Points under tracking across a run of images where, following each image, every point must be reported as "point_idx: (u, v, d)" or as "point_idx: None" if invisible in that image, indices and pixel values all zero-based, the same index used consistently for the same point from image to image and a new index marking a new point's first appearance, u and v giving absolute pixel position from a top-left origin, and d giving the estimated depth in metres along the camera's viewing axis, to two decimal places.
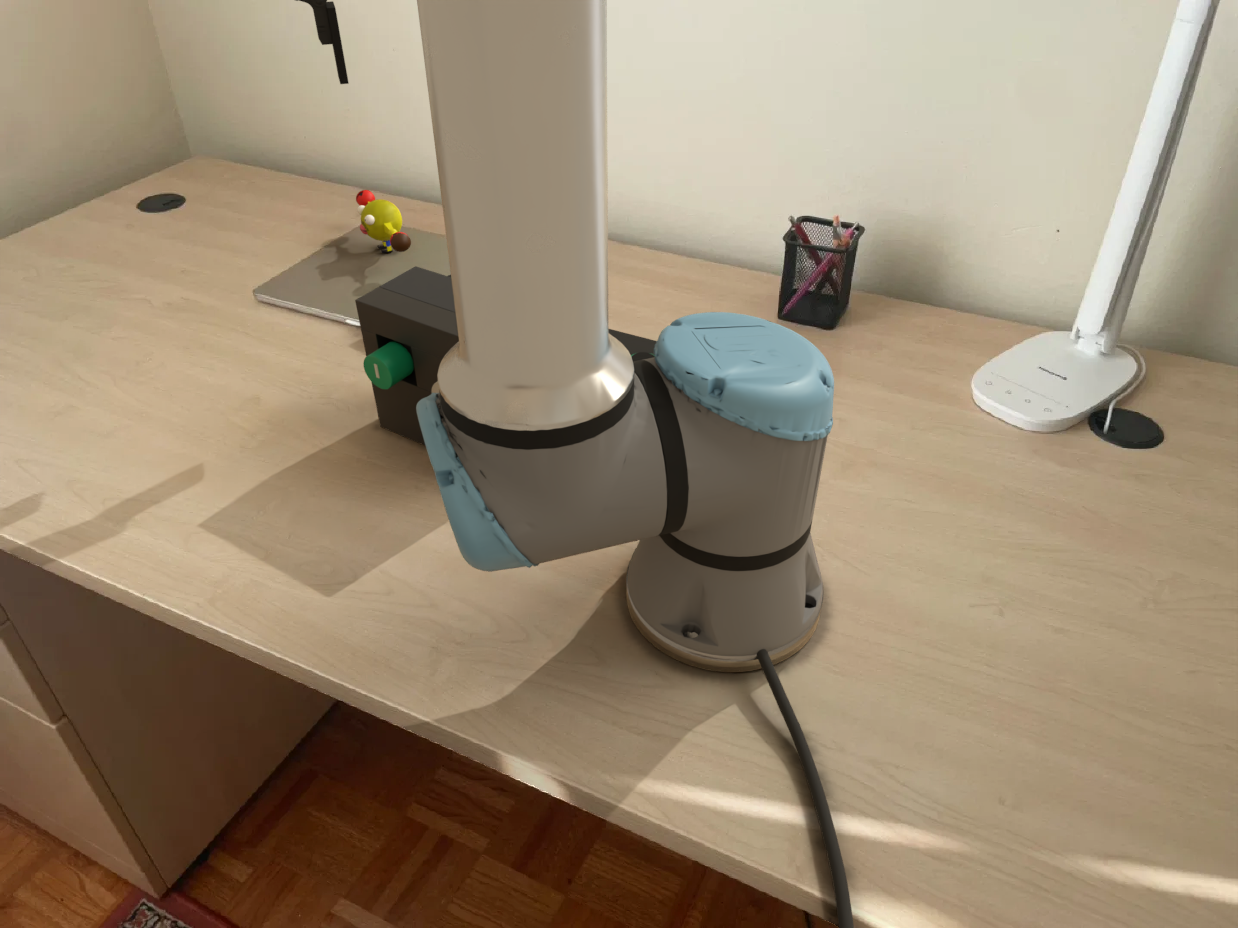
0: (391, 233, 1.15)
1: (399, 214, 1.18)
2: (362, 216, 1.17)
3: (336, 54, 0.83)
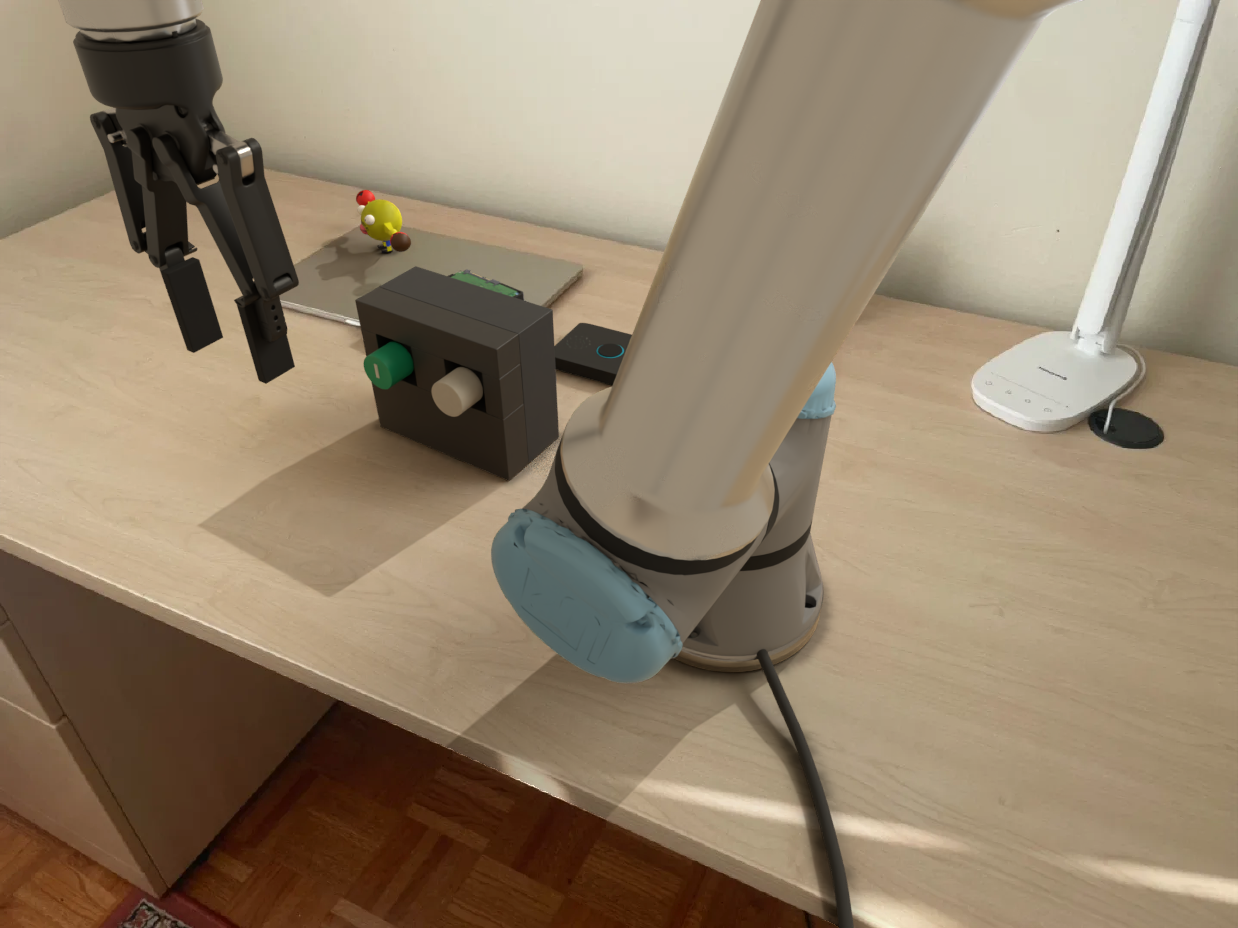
0: (391, 233, 1.15)
1: (399, 214, 1.18)
2: (362, 216, 1.17)
3: (177, 320, 0.67)
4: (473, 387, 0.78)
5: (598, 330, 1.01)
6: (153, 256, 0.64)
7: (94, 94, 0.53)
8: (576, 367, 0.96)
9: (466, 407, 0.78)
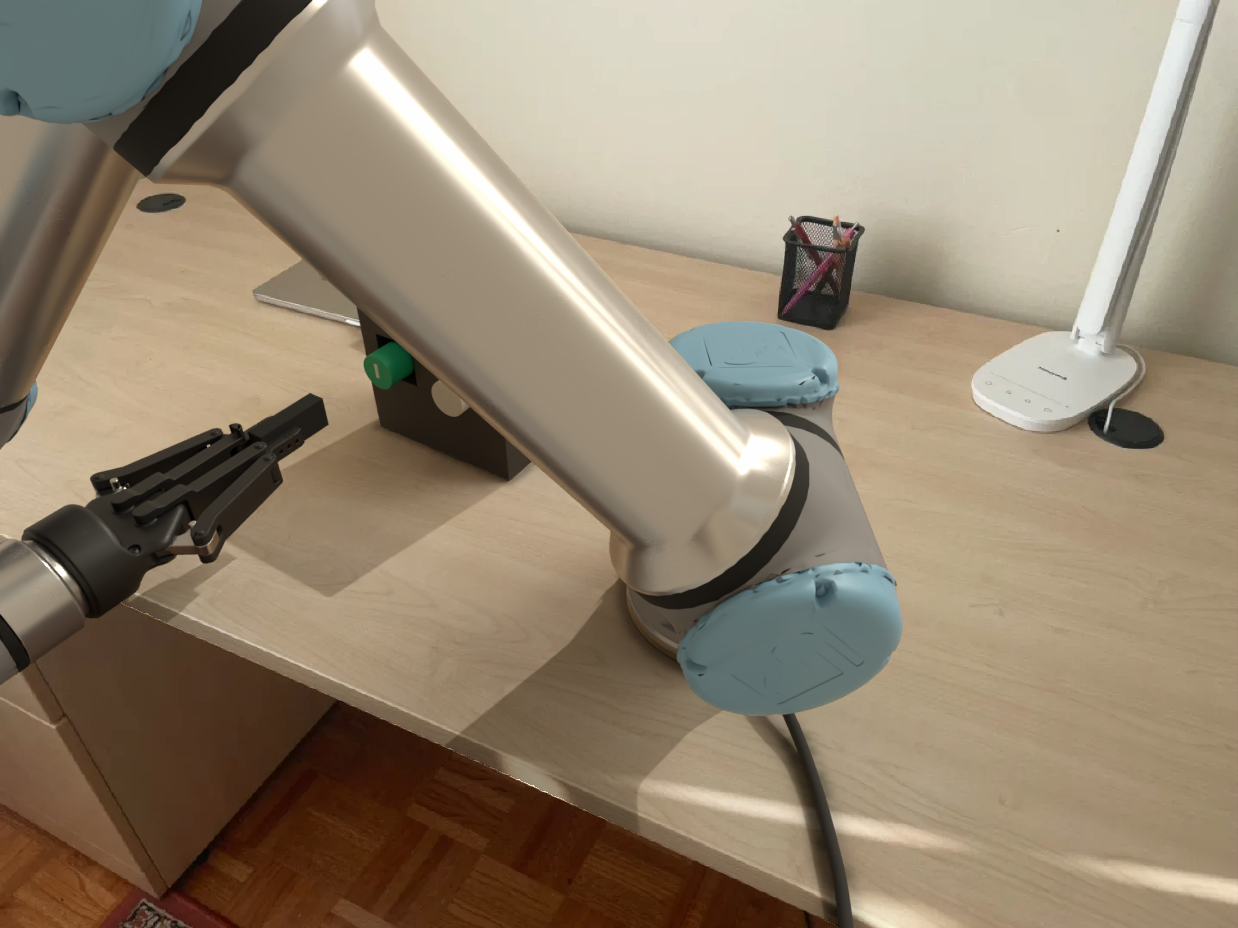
0: None
1: None
2: None
3: (297, 412, 0.73)
4: None
5: None
6: (254, 447, 0.70)
7: (85, 515, 0.60)
8: None
9: (466, 407, 0.78)
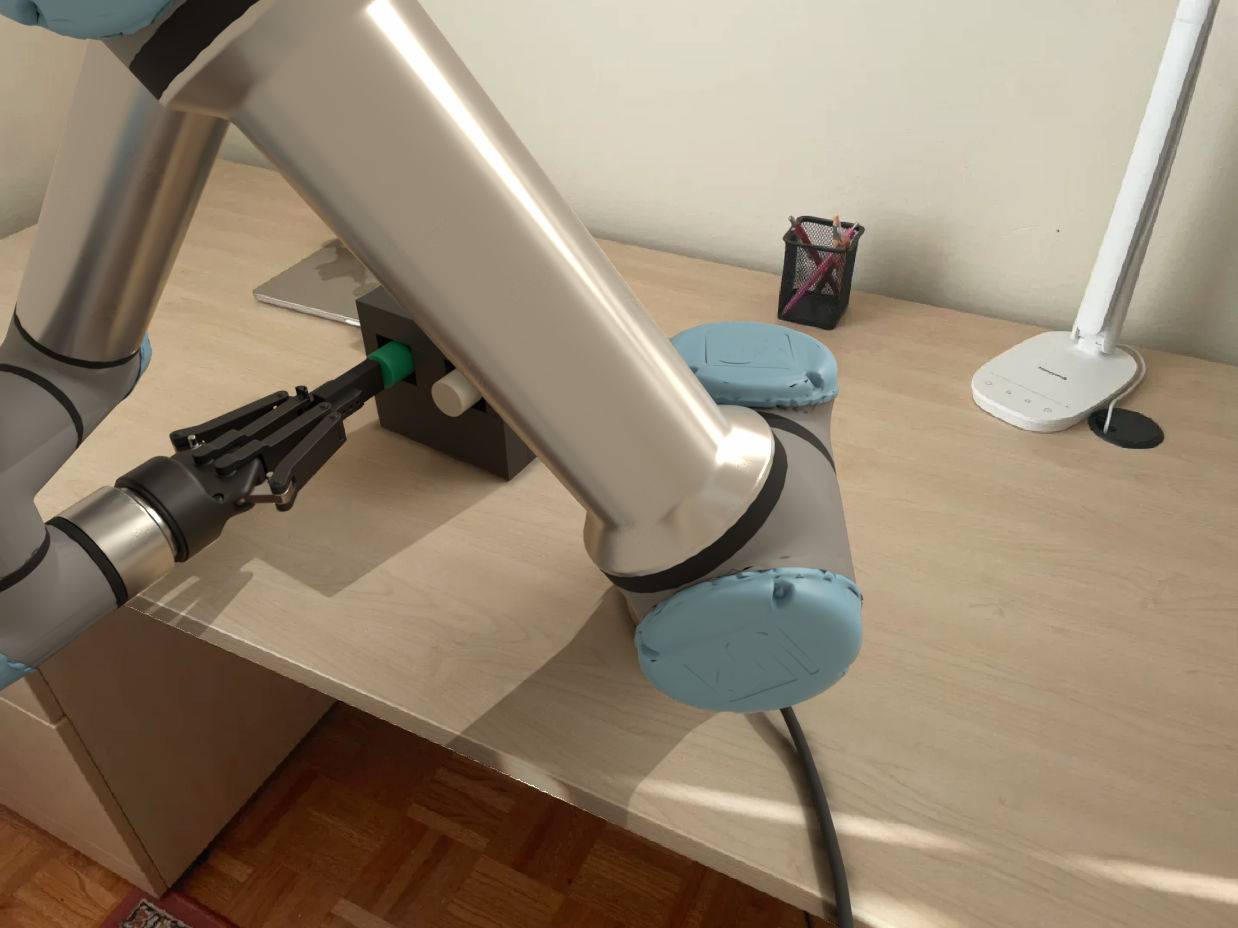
0: None
1: None
2: None
3: (357, 376, 0.78)
4: (473, 387, 0.78)
5: None
6: (320, 407, 0.75)
7: (173, 465, 0.65)
8: None
9: (466, 407, 0.78)
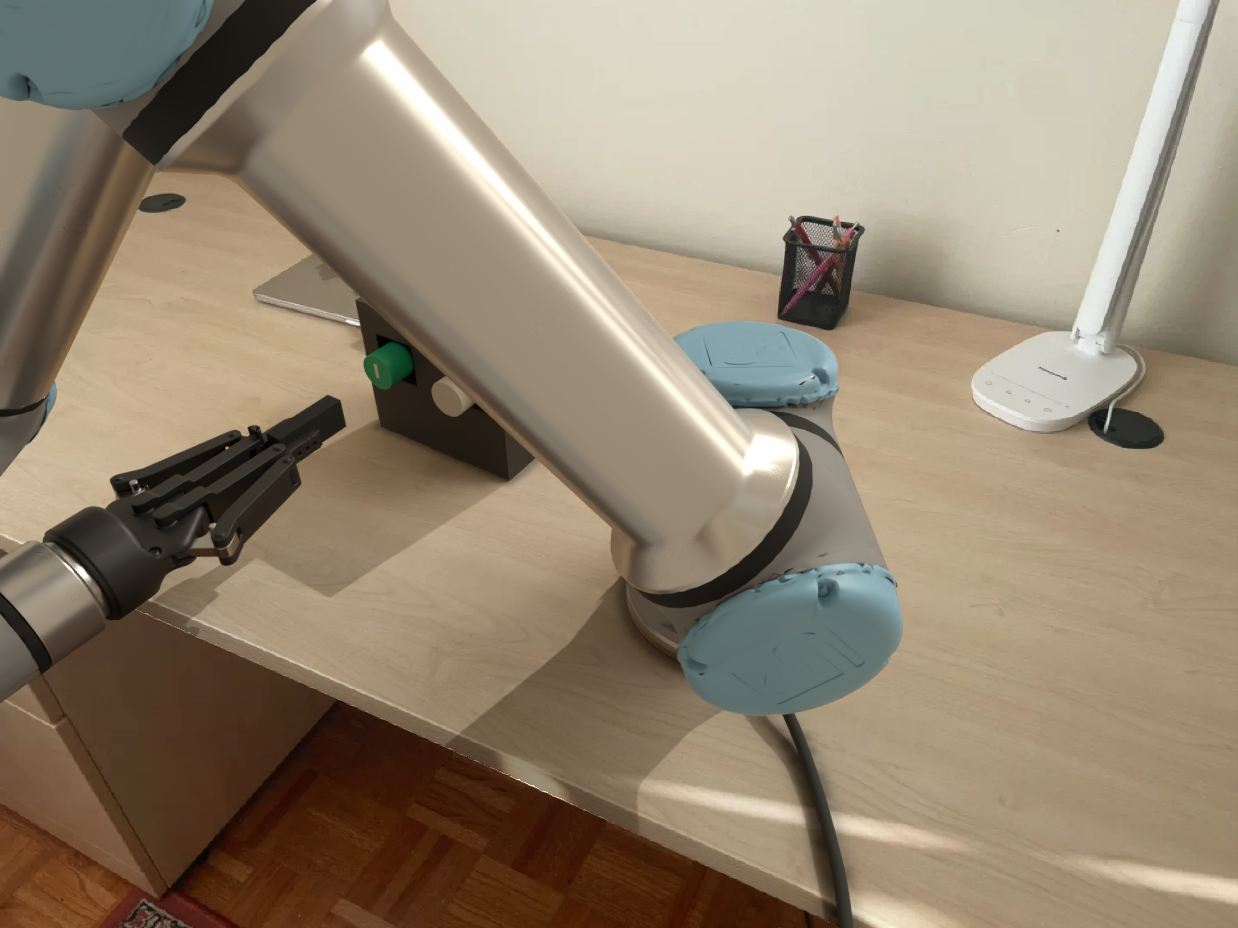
0: None
1: None
2: None
3: (315, 414, 0.73)
4: None
5: None
6: (273, 449, 0.70)
7: (106, 517, 0.60)
8: None
9: (466, 407, 0.78)
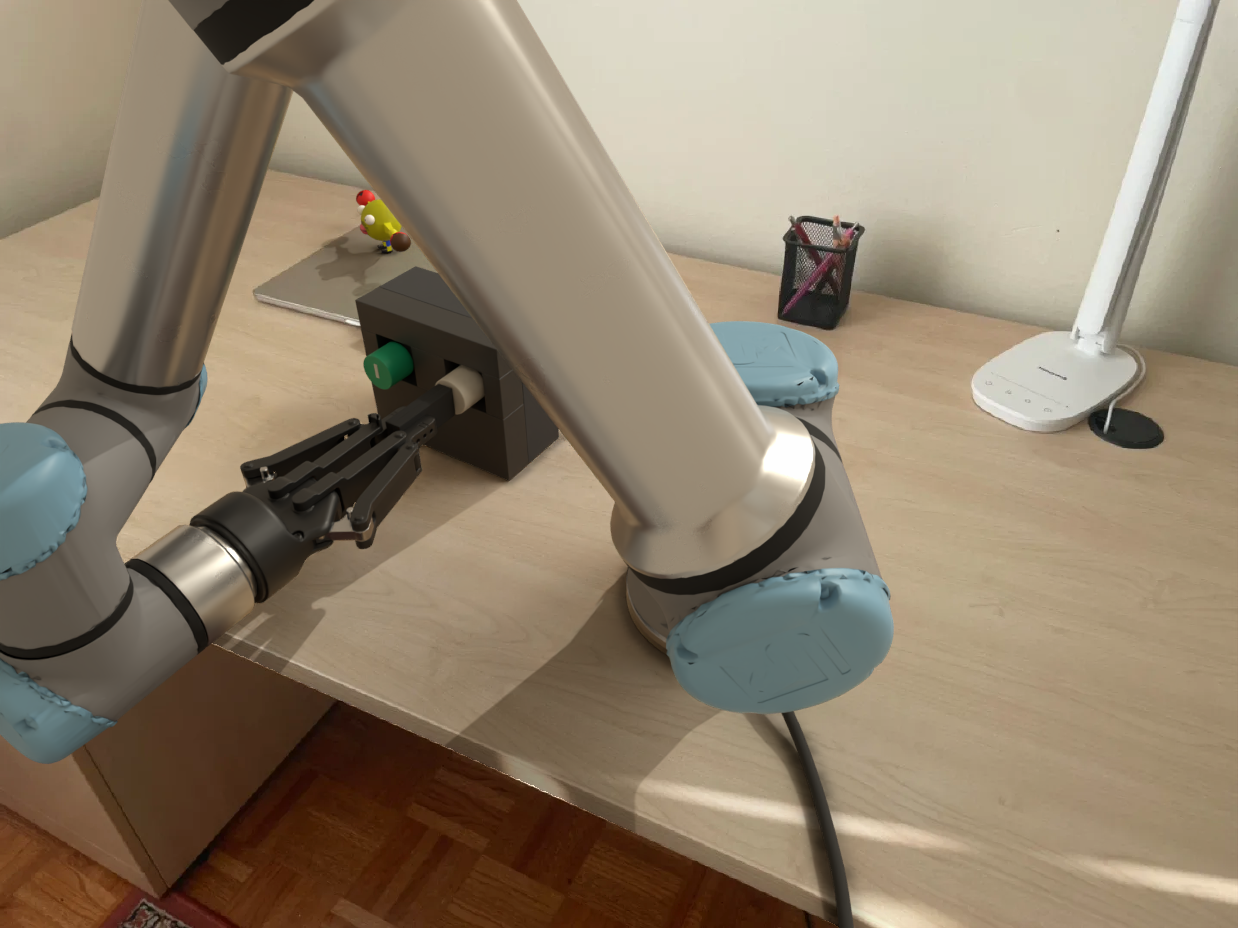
0: (391, 233, 1.15)
1: None
2: (362, 216, 1.17)
3: (430, 402, 0.75)
4: (476, 384, 0.78)
5: None
6: (395, 436, 0.71)
7: (253, 502, 0.62)
8: None
9: (469, 405, 0.78)
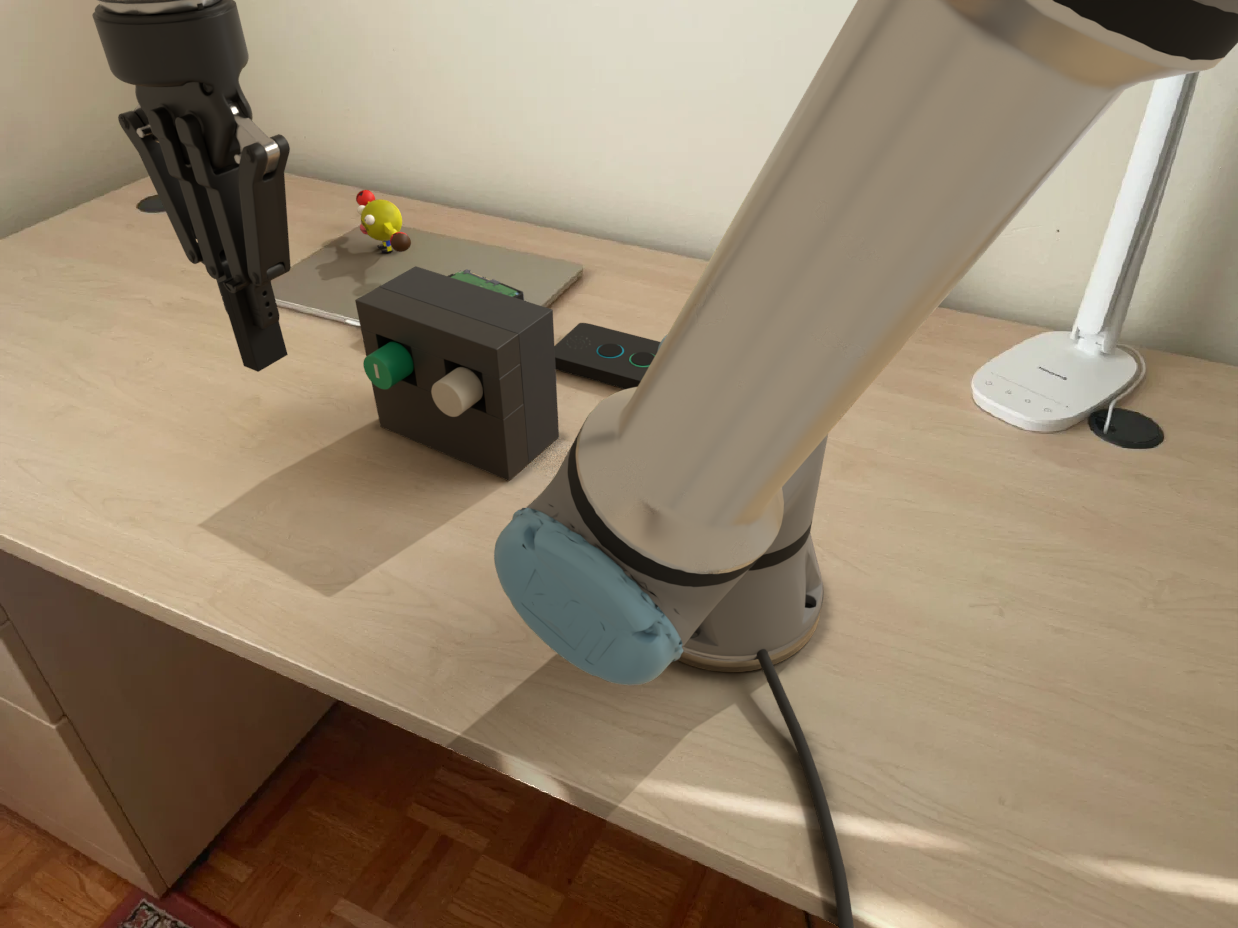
0: (391, 233, 1.15)
1: (399, 214, 1.18)
2: (362, 216, 1.17)
3: (235, 334, 0.63)
4: (473, 387, 0.78)
5: (598, 330, 1.01)
6: (210, 266, 0.60)
7: (114, 71, 0.50)
8: (576, 367, 0.96)
9: (466, 407, 0.78)
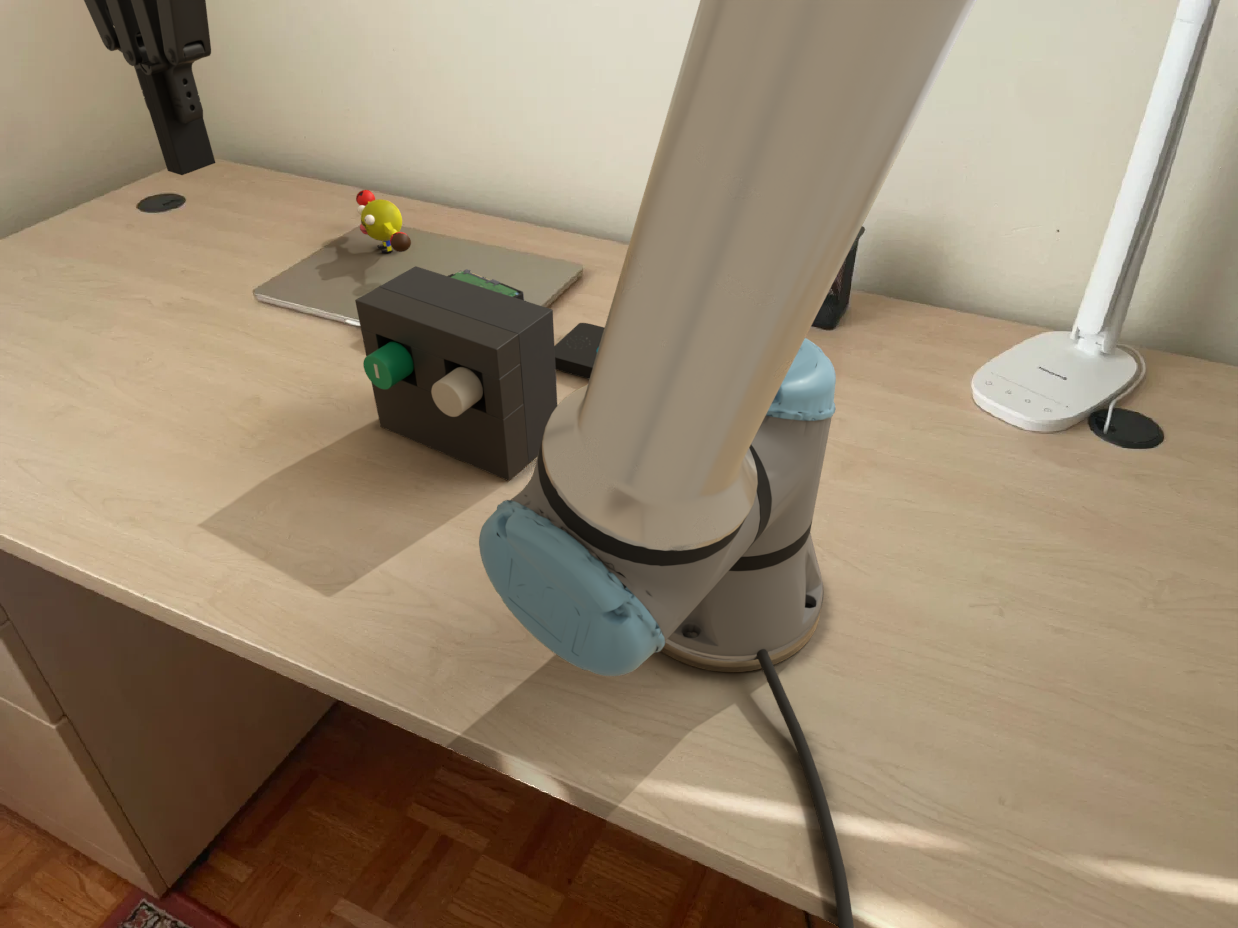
0: (391, 233, 1.15)
1: (399, 214, 1.18)
2: (362, 216, 1.17)
3: (156, 132, 0.59)
4: (473, 387, 0.78)
5: (598, 330, 1.01)
6: (126, 50, 0.57)
7: None
8: (576, 367, 0.96)
9: (466, 407, 0.78)
